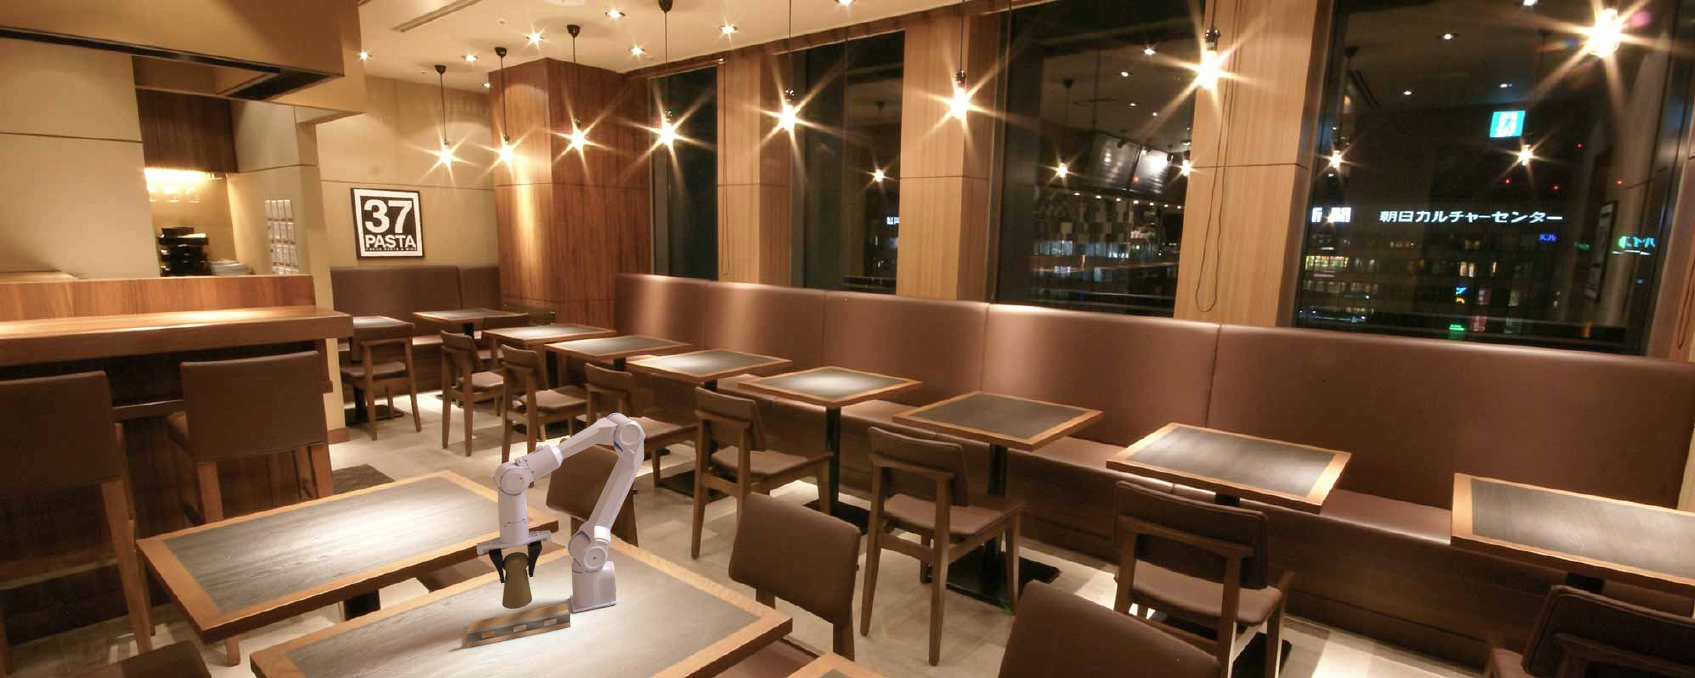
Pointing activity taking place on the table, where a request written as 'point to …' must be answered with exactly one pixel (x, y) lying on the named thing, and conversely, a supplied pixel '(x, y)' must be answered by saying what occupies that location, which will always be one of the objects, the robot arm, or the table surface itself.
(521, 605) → the cork
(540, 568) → the table surface
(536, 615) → the shelf board
